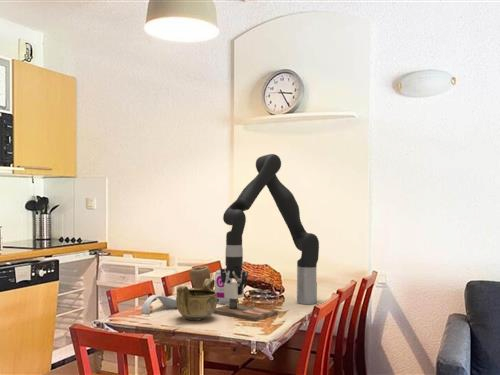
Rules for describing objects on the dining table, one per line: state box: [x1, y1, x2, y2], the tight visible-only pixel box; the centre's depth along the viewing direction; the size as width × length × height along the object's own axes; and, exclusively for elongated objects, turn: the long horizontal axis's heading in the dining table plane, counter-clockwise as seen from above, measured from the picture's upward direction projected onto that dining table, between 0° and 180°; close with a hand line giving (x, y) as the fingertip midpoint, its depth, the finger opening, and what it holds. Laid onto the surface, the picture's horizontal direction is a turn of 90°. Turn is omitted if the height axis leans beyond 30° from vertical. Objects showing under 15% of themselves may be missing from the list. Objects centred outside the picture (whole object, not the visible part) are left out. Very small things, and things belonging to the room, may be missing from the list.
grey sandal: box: [140, 294, 177, 315], centre depth 232 cm, size 24×12×7 cm, turn 146°
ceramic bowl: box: [175, 278, 218, 321], centre depth 215 cm, size 22×17×15 cm
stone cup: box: [189, 265, 215, 291], centre depth 264 cm, size 15×12×15 cm
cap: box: [224, 281, 245, 300], centre depth 229 cm, size 6×6×6 cm
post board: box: [212, 298, 279, 322], centre depth 225 cm, size 16×24×8 cm, turn 53°
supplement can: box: [214, 269, 233, 305], centre depth 248 cm, size 8×8×15 cm
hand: (233, 293), depth 229 cm, fingers closed on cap, 6 cm apart
